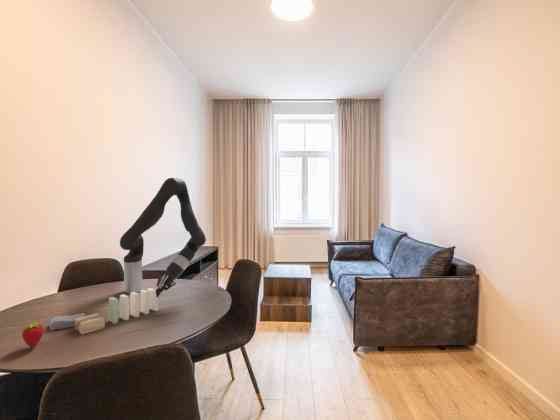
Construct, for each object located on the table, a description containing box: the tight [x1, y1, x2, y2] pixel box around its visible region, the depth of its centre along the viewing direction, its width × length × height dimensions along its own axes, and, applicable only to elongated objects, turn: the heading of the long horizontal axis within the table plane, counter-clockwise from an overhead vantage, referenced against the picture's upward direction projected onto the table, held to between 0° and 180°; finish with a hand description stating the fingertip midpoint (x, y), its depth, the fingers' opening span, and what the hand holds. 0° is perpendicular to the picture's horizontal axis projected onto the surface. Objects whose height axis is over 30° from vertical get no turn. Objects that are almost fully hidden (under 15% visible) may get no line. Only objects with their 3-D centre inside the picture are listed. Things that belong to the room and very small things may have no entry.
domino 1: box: [108, 296, 119, 325], centre depth 127 cm, size 2×5×10 cm, turn 50°
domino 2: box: [119, 293, 130, 321], centre depth 130 cm, size 2×5×10 cm, turn 50°
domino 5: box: [146, 287, 160, 312], centre depth 140 cm, size 2×5×10 cm, turn 50°
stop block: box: [74, 313, 106, 335], centre depth 120 cm, size 8×8×4 cm
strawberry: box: [21, 319, 45, 348], centre depth 104 cm, size 6×8×10 cm
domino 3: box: [129, 292, 140, 318], centre depth 134 cm, size 2×5×10 cm, turn 50°
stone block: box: [49, 312, 86, 331], centre depth 125 cm, size 12×5×10 cm
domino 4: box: [139, 289, 150, 315], centre depth 137 cm, size 2×5×10 cm, turn 50°
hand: (154, 296), depth 141 cm, fingers closed
